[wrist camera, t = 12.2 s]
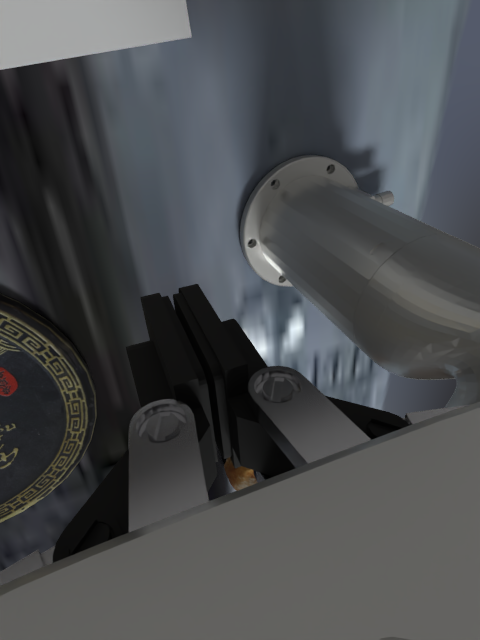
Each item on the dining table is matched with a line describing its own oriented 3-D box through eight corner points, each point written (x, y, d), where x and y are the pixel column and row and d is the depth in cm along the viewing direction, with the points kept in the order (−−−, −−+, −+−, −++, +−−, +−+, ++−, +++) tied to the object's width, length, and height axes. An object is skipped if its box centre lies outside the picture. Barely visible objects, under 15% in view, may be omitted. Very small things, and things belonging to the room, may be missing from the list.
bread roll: (212, 455, 59) (229, 513, 56) (226, 432, 51) (247, 499, 47) (274, 437, 63) (294, 491, 59) (296, 413, 55) (321, 474, 51)
